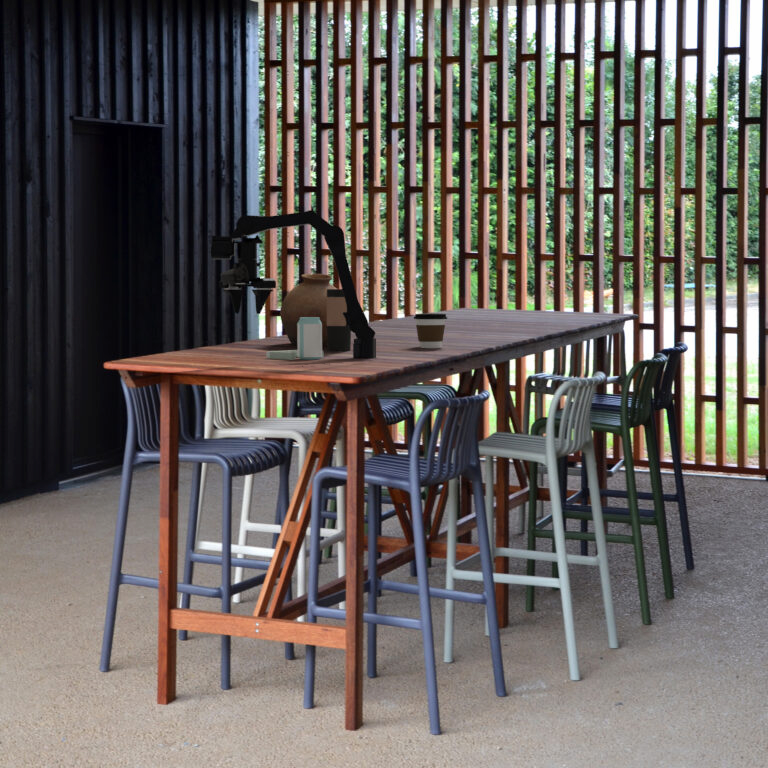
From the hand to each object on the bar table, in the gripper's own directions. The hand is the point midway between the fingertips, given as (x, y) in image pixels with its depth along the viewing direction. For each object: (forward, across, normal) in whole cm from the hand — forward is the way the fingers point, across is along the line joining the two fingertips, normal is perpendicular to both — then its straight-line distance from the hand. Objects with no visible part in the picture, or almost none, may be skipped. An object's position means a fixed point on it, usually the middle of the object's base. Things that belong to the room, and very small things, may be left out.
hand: (247, 313), depth 366 cm
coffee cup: (+13, +13, +67) cm, 70 cm away
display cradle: (+13, +10, +10) cm, 19 cm away
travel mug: (+13, 0, +38) cm, 40 cm away
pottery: (+13, -17, +45) cm, 50 cm away
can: (+13, +16, +10) cm, 23 cm away
